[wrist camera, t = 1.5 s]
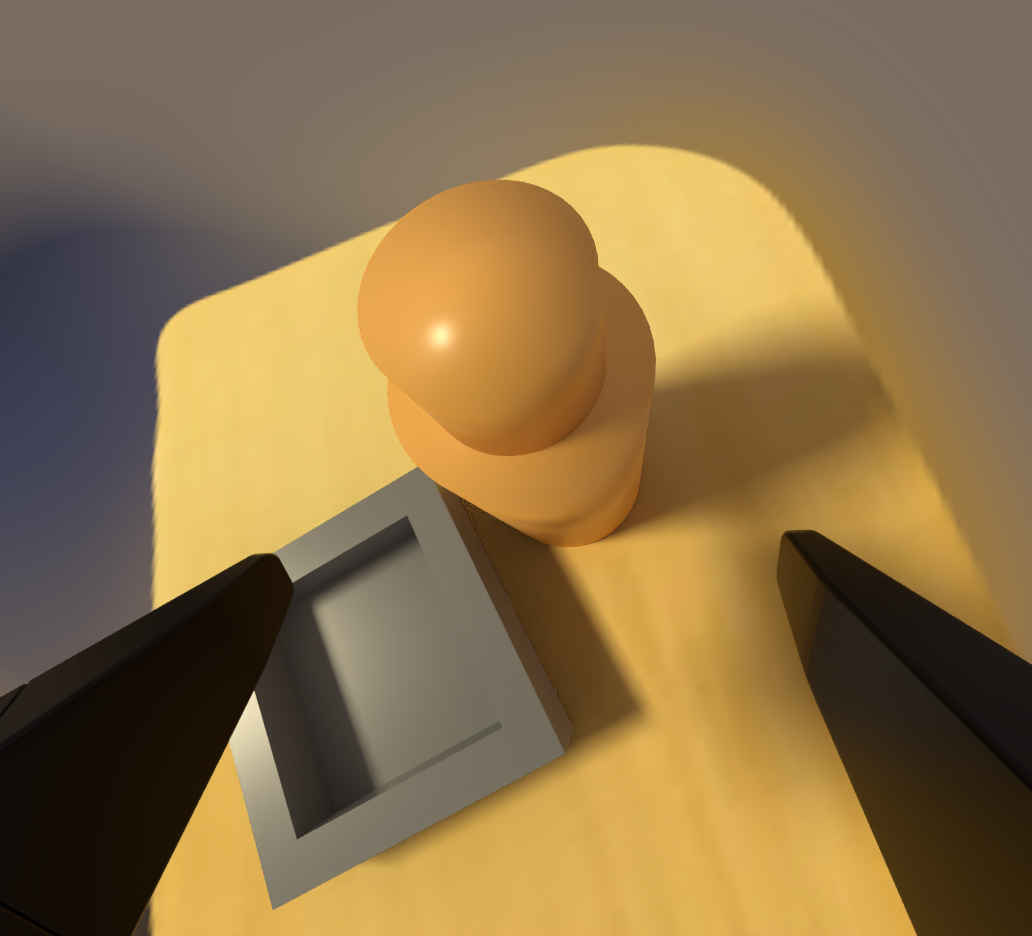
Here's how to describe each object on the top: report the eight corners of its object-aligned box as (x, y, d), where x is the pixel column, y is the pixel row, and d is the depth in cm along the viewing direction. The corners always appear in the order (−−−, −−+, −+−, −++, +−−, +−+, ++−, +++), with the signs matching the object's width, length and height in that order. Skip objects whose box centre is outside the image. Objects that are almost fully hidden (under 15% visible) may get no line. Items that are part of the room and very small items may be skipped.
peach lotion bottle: (669, 499, 19) (757, 322, 6) (538, 574, 19) (381, 542, 7) (592, 382, 21) (543, 74, 8) (474, 452, 21) (261, 256, 9)
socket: (574, 729, 17) (565, 753, 15) (324, 863, 18) (273, 910, 15) (450, 478, 21) (424, 462, 18) (245, 599, 22) (192, 600, 19)
